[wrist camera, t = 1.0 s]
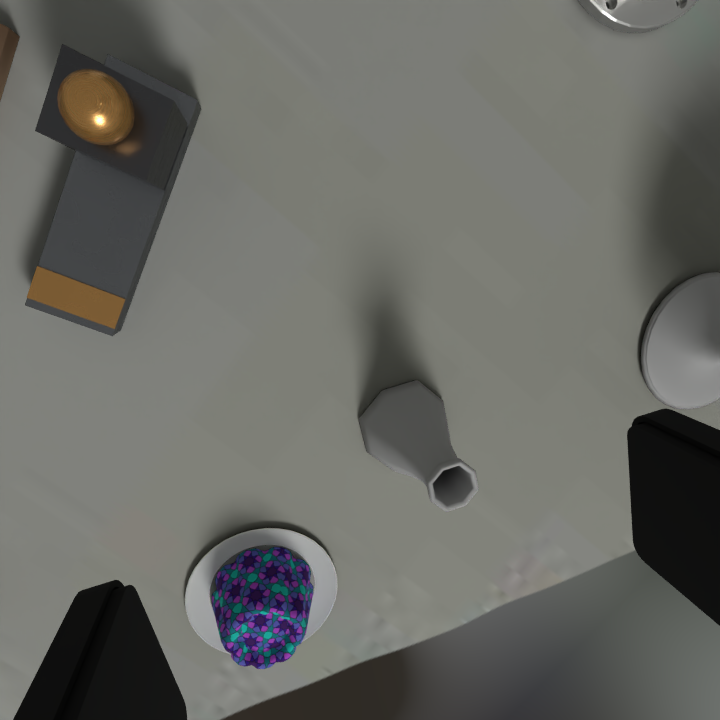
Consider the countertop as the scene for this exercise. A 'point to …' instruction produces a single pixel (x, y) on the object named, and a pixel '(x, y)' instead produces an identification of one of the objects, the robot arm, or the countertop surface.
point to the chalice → (685, 345)
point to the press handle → (111, 118)
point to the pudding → (261, 596)
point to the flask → (418, 443)
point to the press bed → (6, 53)
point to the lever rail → (104, 230)
